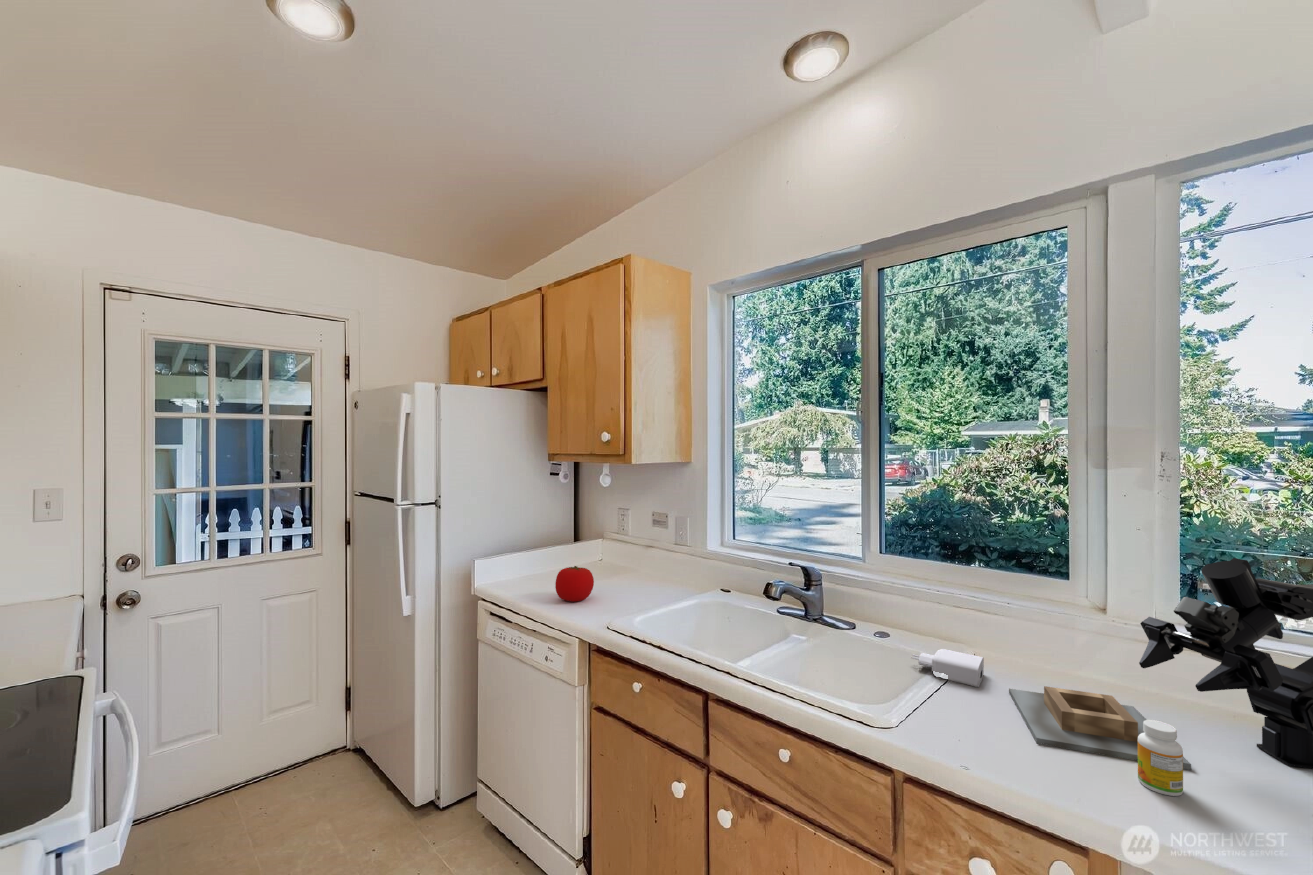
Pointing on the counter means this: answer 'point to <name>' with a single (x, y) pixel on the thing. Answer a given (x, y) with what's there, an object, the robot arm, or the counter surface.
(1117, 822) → the counter surface
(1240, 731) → the counter surface
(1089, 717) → the socket block
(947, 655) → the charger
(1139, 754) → the supplement bottle
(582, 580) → the tomato
